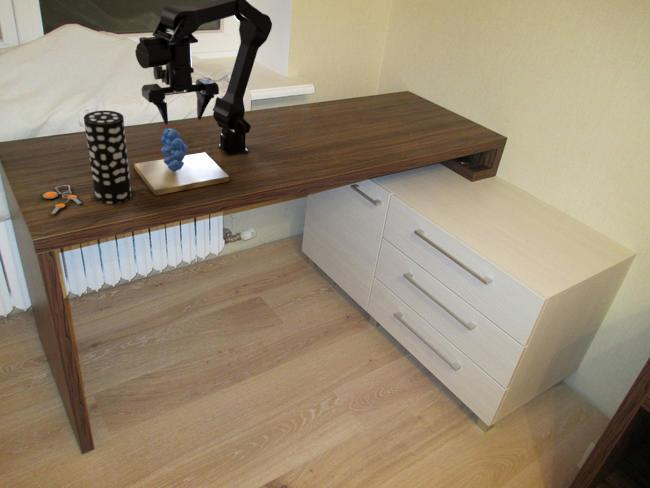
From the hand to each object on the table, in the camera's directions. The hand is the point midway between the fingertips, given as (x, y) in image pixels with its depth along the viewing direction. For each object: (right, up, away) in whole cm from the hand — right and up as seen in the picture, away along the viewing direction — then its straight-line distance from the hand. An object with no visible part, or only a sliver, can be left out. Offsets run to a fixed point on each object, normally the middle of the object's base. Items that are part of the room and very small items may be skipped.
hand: (182, 121), depth 144 cm
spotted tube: (-14, -21, -11) cm, 27 cm away
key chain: (-25, -22, -15) cm, 36 cm away
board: (-1, -14, +1) cm, 14 cm away
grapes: (-2, -13, 0) cm, 13 cm away
